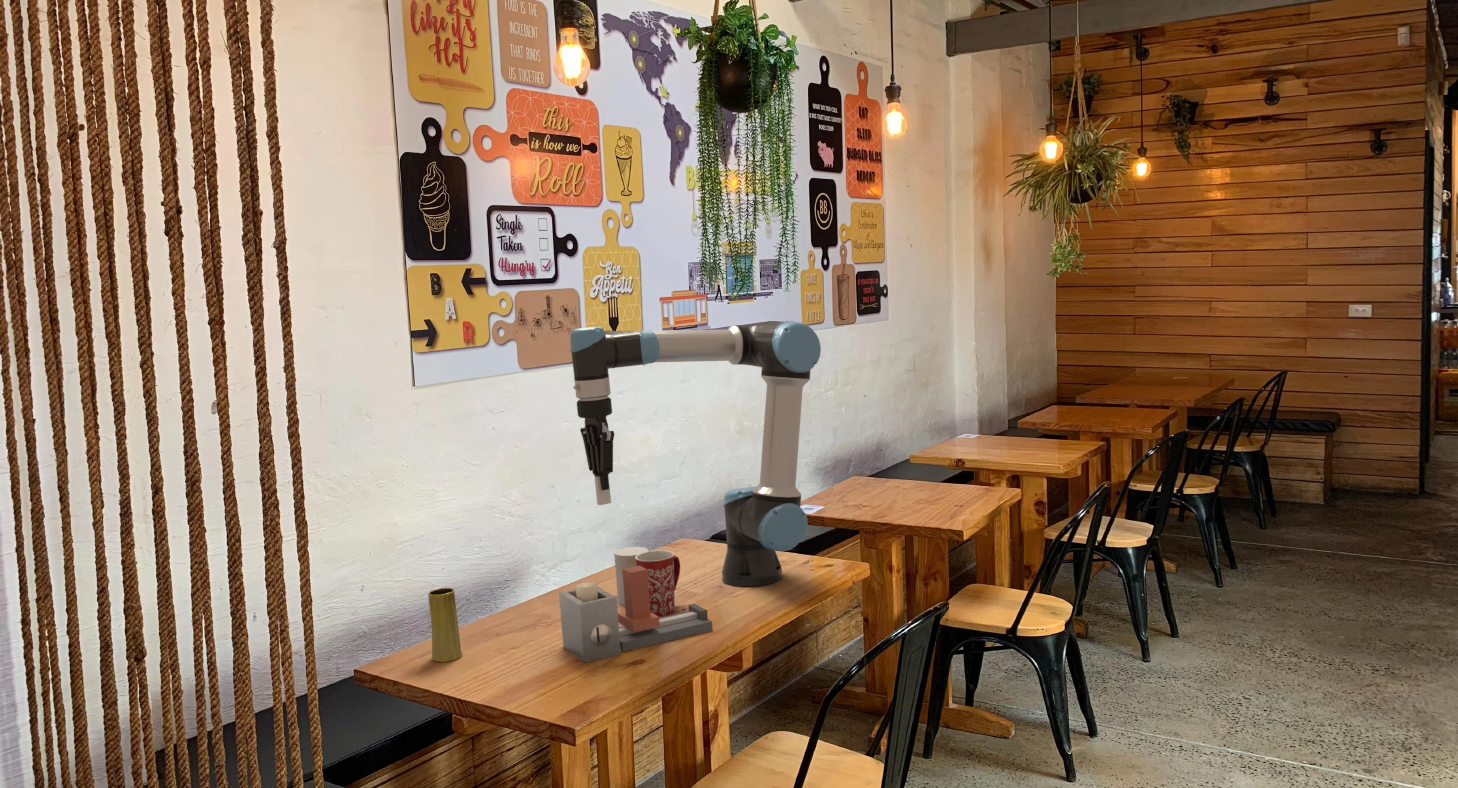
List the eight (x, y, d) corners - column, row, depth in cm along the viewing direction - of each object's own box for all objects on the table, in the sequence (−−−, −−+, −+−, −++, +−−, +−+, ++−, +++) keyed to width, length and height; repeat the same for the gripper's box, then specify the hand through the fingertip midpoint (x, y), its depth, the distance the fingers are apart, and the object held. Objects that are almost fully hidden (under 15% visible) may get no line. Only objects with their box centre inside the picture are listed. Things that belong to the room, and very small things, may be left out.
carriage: (643, 616, 232) (639, 562, 231) (659, 625, 225) (655, 570, 224) (618, 622, 230) (614, 568, 228) (633, 631, 223) (629, 575, 221)
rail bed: (691, 618, 239) (690, 601, 239) (712, 630, 231) (711, 612, 230) (604, 639, 229) (603, 621, 229) (623, 651, 221) (621, 633, 220)
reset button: (594, 604, 225) (592, 581, 224) (602, 609, 221) (600, 585, 220) (574, 608, 222) (572, 585, 222) (582, 613, 219) (580, 589, 218)
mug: (661, 620, 239) (656, 562, 238) (631, 615, 245) (626, 557, 244) (696, 605, 249) (692, 548, 248) (667, 600, 255) (663, 544, 253)
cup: (631, 607, 251) (627, 557, 250) (611, 601, 257) (607, 552, 256) (658, 599, 256) (655, 550, 255) (638, 593, 262) (635, 545, 261)
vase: (437, 653, 227) (431, 587, 226) (465, 651, 227) (459, 586, 225) (428, 663, 221) (422, 596, 220) (457, 661, 221) (451, 594, 219)
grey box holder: (598, 638, 230) (594, 584, 228) (622, 655, 219) (617, 598, 217) (563, 647, 226) (558, 591, 225) (585, 663, 215) (580, 606, 214)
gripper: (566, 398, 237) (576, 502, 240) (589, 402, 226) (601, 511, 229) (596, 394, 241) (607, 496, 243) (621, 397, 230) (632, 504, 232)
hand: (604, 503), depth 236 cm, fingers closed
